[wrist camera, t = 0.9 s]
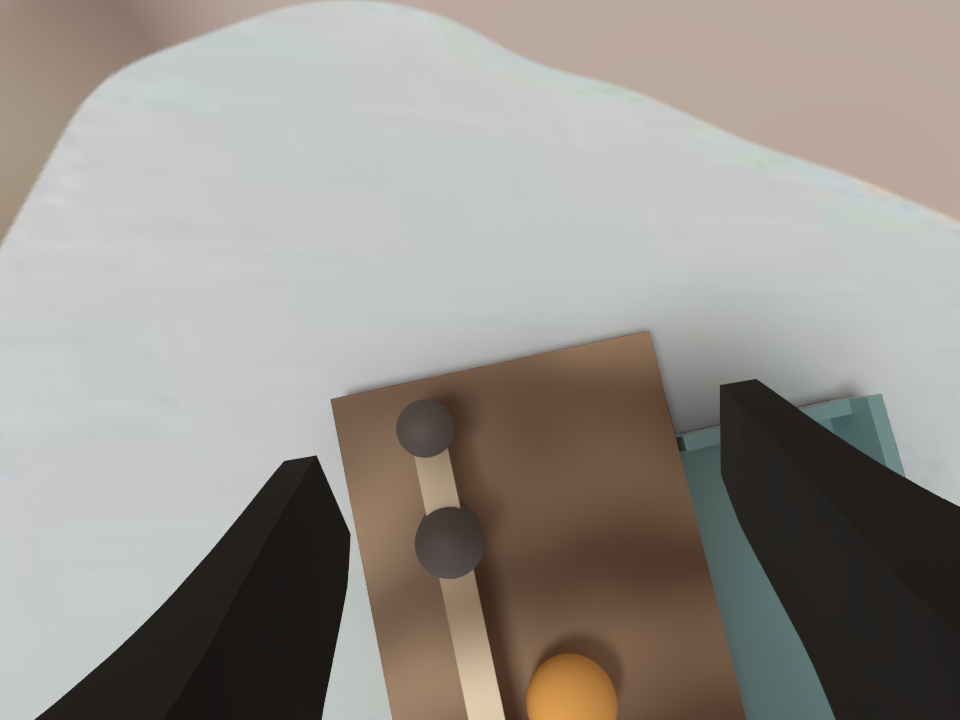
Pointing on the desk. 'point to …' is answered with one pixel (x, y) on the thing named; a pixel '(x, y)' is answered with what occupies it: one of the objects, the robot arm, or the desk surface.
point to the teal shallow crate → (742, 581)
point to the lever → (452, 552)
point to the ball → (571, 690)
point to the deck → (545, 535)
